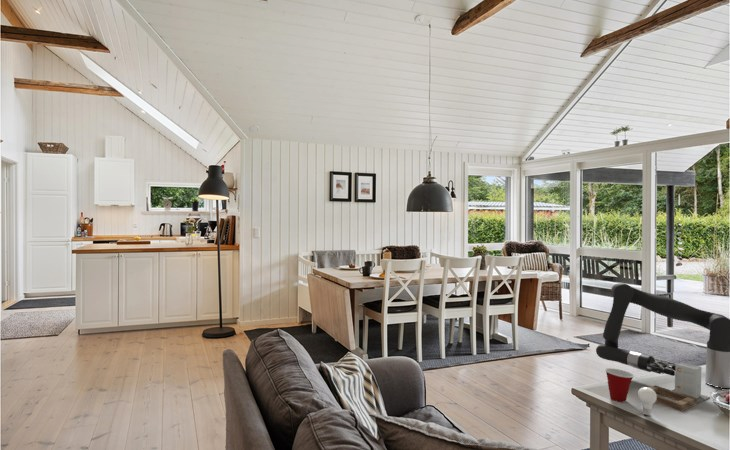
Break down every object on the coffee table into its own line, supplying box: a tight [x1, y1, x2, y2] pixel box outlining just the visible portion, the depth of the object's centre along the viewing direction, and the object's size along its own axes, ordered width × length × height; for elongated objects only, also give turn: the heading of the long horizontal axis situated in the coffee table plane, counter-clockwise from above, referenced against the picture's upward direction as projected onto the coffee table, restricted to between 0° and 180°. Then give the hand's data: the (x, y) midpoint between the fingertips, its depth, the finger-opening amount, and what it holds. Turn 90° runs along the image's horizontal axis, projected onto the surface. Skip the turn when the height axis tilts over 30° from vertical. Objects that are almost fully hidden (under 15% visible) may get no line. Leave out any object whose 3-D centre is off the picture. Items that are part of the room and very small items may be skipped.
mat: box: [672, 388, 711, 405], centre depth 194 cm, size 12×12×1 cm
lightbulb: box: [637, 386, 658, 416], centre depth 173 cm, size 6×6×11 cm
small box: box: [674, 361, 702, 398], centre depth 194 cm, size 8×6×13 cm
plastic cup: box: [605, 367, 635, 403], centre depth 188 cm, size 11×11×12 cm
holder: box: [649, 385, 697, 412], centre depth 188 cm, size 14×16×2 cm
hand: (679, 372), depth 197 cm, fingers open, 8 cm apart
